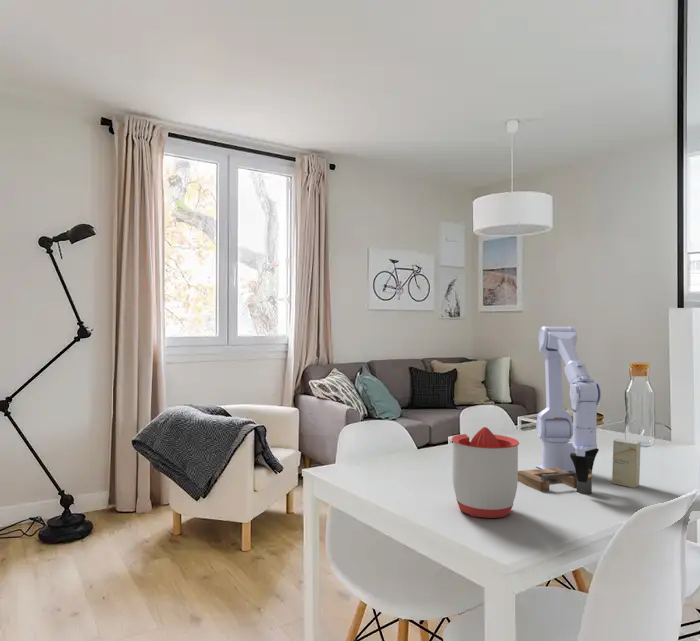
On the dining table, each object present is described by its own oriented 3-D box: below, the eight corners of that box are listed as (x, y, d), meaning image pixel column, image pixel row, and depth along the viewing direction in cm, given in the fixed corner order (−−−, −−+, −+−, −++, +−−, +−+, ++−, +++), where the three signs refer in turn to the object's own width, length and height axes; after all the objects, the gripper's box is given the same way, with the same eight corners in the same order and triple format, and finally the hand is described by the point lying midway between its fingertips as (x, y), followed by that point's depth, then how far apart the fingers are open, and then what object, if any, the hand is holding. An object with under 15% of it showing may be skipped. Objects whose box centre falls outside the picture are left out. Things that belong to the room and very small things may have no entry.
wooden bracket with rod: (556, 476, 162) (556, 462, 162) (582, 486, 151) (582, 472, 151) (515, 479, 157) (515, 466, 157) (539, 491, 147) (540, 476, 147)
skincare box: (611, 483, 154) (612, 440, 155) (616, 480, 158) (616, 438, 158) (636, 488, 150) (636, 443, 150) (640, 485, 154) (640, 441, 154)
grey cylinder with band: (585, 489, 149) (585, 467, 149) (595, 493, 145) (595, 470, 145) (573, 490, 148) (573, 468, 148) (583, 494, 144) (583, 471, 144)
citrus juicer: (504, 498, 141) (504, 420, 141) (528, 522, 123) (529, 433, 124) (443, 498, 140) (444, 419, 140) (459, 522, 123) (460, 433, 123)
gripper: (573, 421, 155) (573, 470, 155) (563, 429, 143) (563, 482, 142) (600, 424, 151) (600, 473, 151) (593, 432, 139) (593, 486, 139)
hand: (584, 478), depth 147 cm, fingers open, 7 cm apart
